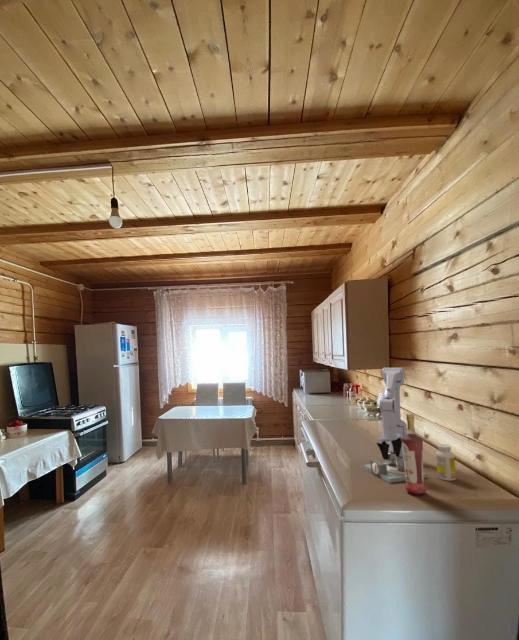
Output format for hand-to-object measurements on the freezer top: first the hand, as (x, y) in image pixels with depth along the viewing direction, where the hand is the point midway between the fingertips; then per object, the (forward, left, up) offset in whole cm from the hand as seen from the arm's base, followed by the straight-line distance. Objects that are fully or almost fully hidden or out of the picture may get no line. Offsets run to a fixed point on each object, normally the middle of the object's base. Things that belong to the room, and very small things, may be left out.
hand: (391, 457), depth 148 cm
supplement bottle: (-14, +16, -5) cm, 22 cm away
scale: (+2, +4, -5) cm, 6 cm away
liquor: (+7, +23, -5) cm, 25 cm away
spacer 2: (0, +8, -3) cm, 8 cm away
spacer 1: (0, 0, -3) cm, 3 cm away
